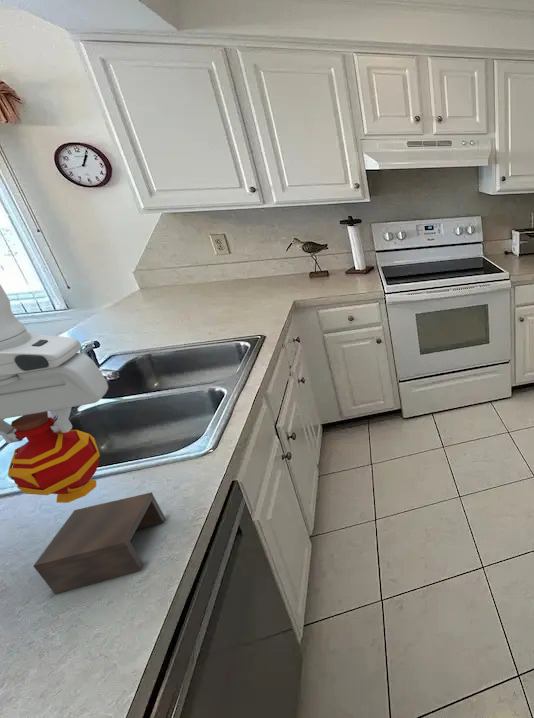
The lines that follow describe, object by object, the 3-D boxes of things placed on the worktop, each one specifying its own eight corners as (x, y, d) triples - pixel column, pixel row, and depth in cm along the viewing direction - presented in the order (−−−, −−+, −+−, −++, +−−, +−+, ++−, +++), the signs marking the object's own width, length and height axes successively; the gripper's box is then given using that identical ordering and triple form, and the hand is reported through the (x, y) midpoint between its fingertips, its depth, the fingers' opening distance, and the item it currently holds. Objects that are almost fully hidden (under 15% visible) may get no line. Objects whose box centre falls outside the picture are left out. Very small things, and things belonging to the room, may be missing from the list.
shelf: (54, 594, 68) (32, 566, 65) (91, 536, 78) (74, 509, 75) (140, 570, 72) (123, 542, 69) (165, 518, 82) (151, 492, 79)
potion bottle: (129, 478, 71) (88, 407, 65) (51, 524, 63) (-4, 447, 57) (97, 462, 75) (56, 394, 69) (20, 503, 67) (-35, 429, 61)
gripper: (-132, 382, 53) (-65, 465, 59) (68, 354, 59) (110, 432, 65) (-88, 361, 58) (-31, 439, 64) (90, 337, 64) (128, 410, 70)
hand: (41, 435), depth 64 cm, fingers closed on potion bottle, 4 cm apart
